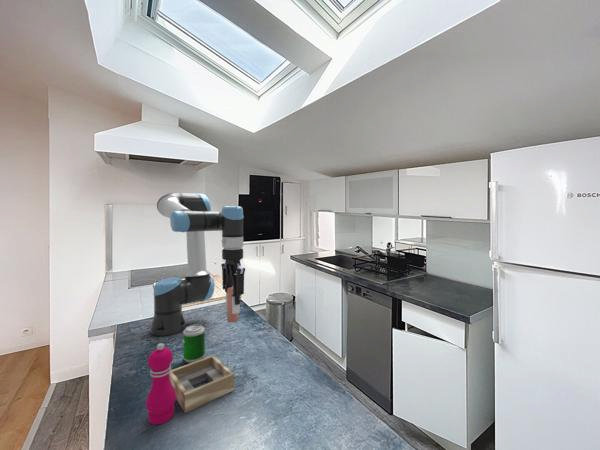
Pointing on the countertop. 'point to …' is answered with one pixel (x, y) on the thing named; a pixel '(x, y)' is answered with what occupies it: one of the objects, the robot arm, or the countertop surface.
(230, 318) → the peg
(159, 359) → the pepper mill
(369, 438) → the countertop surface
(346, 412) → the countertop surface
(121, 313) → the countertop surface
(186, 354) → the soda can
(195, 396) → the box
